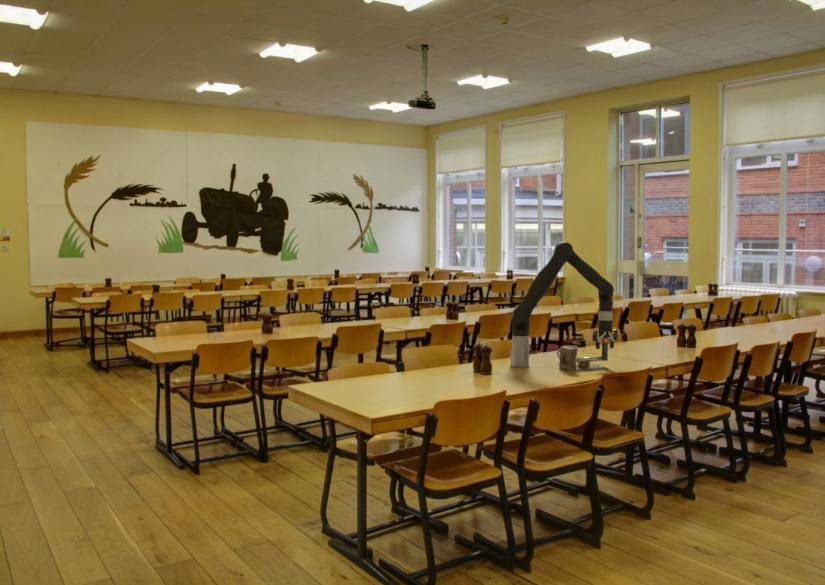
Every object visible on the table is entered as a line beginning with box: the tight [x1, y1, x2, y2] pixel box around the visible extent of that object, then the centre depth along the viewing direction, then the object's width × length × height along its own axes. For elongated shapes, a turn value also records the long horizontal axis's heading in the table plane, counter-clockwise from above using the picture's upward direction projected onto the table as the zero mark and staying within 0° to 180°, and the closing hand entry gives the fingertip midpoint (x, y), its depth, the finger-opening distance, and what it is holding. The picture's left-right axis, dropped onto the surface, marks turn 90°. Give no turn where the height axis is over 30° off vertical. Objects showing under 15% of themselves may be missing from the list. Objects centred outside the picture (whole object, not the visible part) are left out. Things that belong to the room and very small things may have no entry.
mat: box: [558, 364, 610, 373], centre depth 391 cm, size 24×11×1 cm, turn 109°
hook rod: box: [576, 338, 610, 363], centre depth 392 cm, size 21×4×13 cm, turn 109°
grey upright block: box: [559, 345, 577, 373], centre depth 388 cm, size 4×10×12 cm, turn 19°
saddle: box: [577, 360, 591, 369], centre depth 391 cm, size 4×5×5 cm
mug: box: [556, 344, 579, 360], centre depth 408 cm, size 8×13×10 cm, turn 53°
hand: (604, 348), depth 395 cm, fingers open, 8 cm apart
